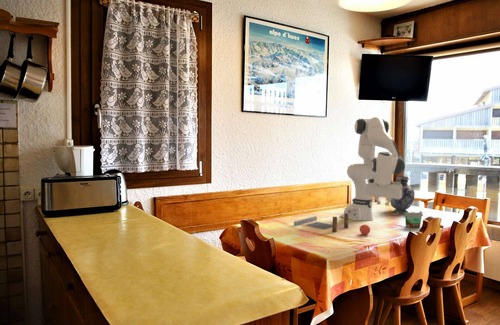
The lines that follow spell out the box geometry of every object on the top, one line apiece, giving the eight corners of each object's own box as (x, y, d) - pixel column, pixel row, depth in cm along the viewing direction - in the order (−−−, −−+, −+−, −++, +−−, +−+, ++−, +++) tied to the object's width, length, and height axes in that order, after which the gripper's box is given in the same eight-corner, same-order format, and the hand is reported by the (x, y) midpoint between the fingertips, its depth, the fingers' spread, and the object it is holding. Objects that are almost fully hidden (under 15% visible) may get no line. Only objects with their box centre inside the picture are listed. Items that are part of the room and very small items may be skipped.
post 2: (343, 227, 237) (343, 213, 237) (345, 227, 239) (345, 213, 239) (346, 228, 236) (347, 214, 235) (348, 227, 238) (349, 213, 237)
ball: (357, 234, 221) (358, 224, 221) (362, 232, 226) (362, 222, 225) (367, 236, 217) (367, 226, 217) (371, 234, 222) (372, 224, 221)
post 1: (331, 231, 227) (331, 216, 226) (333, 230, 229) (334, 216, 228) (335, 232, 225) (335, 217, 224) (337, 231, 227) (337, 217, 226)
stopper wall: (293, 225, 241) (294, 221, 241) (314, 219, 259) (314, 216, 259) (296, 225, 240) (296, 222, 239) (316, 220, 257) (316, 216, 257)
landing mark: (305, 225, 241) (305, 225, 241) (317, 222, 251) (317, 221, 251) (324, 229, 232) (324, 229, 232) (335, 225, 242) (335, 225, 242)
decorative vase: (392, 208, 307) (395, 174, 304) (416, 212, 295) (419, 176, 293) (383, 212, 290) (385, 176, 288) (408, 216, 279) (410, 178, 276)
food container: (410, 229, 237) (410, 213, 236) (403, 227, 243) (404, 211, 242) (426, 228, 240) (427, 213, 240) (419, 226, 246) (420, 211, 246)
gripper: (404, 182, 208) (403, 206, 209) (369, 178, 222) (368, 201, 222) (400, 182, 203) (399, 208, 204) (364, 179, 217) (363, 203, 218)
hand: (382, 204), depth 213 cm, fingers open, 3 cm apart
